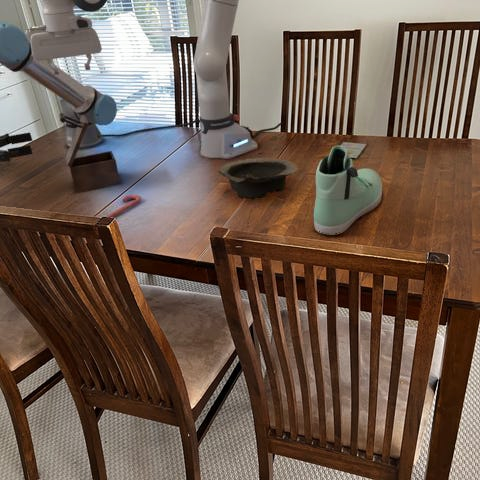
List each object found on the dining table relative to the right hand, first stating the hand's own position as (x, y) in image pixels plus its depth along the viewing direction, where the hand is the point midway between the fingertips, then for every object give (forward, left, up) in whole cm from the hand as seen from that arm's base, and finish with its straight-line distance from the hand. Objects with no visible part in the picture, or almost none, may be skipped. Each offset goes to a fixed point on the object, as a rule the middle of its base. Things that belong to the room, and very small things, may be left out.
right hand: (72, 71), depth 148 cm
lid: (+3, 0, -22) cm, 22 cm away
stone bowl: (-43, +38, -38) cm, 68 cm away
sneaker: (-57, +65, -38) cm, 94 cm away
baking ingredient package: (-86, +30, -38) cm, 99 cm away
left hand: (+17, -2, -20) cm, 26 cm away
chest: (+1, 0, -38) cm, 38 cm away
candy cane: (-1, +25, -38) cm, 45 cm away
